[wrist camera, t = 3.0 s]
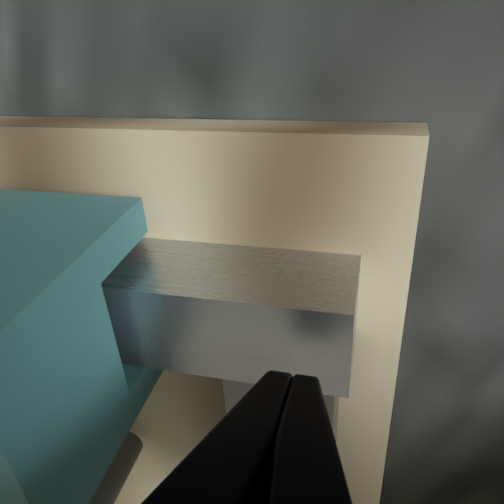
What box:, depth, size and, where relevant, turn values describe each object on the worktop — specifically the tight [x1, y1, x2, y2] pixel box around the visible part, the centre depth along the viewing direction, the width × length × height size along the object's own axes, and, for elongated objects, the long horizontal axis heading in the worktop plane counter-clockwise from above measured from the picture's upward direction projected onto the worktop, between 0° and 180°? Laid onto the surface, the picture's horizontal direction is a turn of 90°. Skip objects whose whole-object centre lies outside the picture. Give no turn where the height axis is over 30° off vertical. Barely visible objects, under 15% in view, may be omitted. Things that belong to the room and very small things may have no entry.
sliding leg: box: [0, 189, 163, 504], centre depth 11 cm, size 4×9×5 cm, turn 3°
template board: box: [0, 116, 429, 504], centre depth 15 cm, size 19×15×1 cm
